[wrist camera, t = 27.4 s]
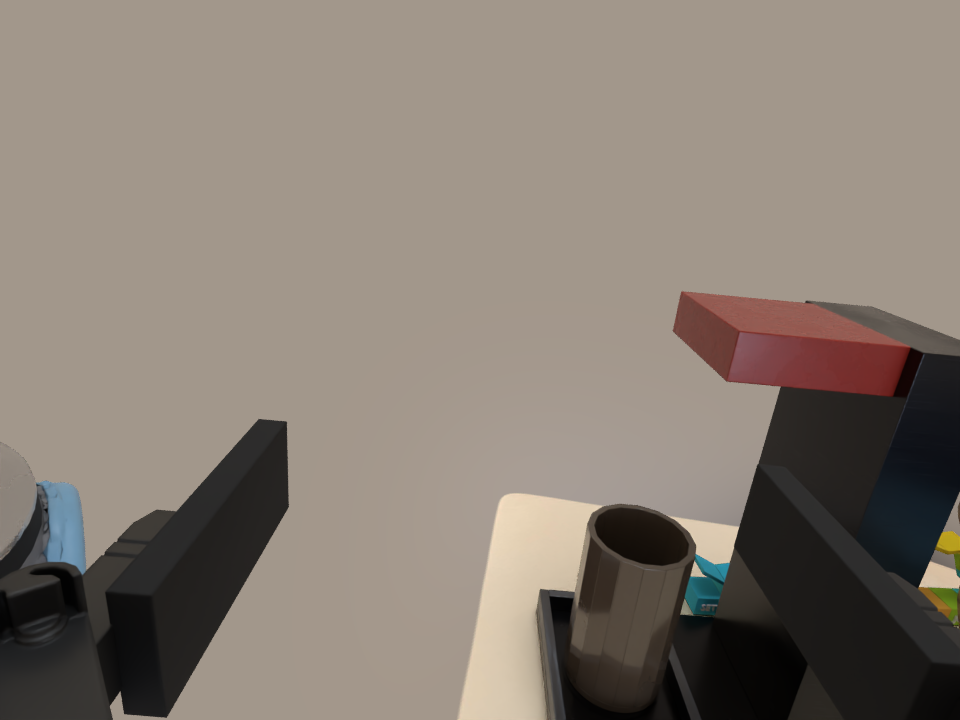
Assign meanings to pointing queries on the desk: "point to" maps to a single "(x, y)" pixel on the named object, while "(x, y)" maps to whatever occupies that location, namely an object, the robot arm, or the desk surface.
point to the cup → (627, 606)
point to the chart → (708, 589)
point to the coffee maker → (821, 470)
